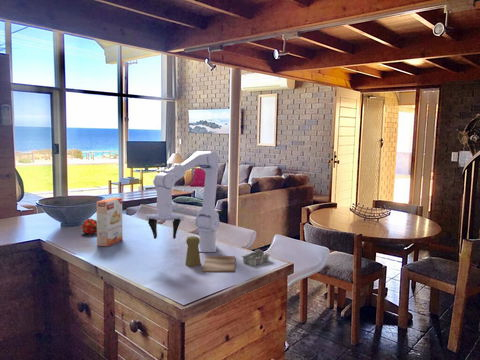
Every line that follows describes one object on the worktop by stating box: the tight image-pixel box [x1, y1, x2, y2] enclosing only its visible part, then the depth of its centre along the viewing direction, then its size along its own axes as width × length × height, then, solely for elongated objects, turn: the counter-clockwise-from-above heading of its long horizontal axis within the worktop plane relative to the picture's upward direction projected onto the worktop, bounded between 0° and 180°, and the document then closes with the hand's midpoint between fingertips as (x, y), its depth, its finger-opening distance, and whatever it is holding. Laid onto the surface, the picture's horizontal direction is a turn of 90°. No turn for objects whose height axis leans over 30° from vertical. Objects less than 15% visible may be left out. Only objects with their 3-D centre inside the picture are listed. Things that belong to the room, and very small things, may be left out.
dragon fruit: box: [81, 218, 97, 236], centre depth 201 cm, size 8×8×12 cm
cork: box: [184, 235, 202, 268], centre depth 152 cm, size 6×6×11 cm
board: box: [201, 255, 236, 273], centre depth 153 cm, size 18×12×1 cm, turn 0°
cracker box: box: [95, 197, 123, 247], centre depth 183 cm, size 14×6×21 cm, turn 168°
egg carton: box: [241, 248, 271, 266], centre depth 157 cm, size 11×8×4 cm
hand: (164, 238), depth 152 cm, fingers open, 7 cm apart
